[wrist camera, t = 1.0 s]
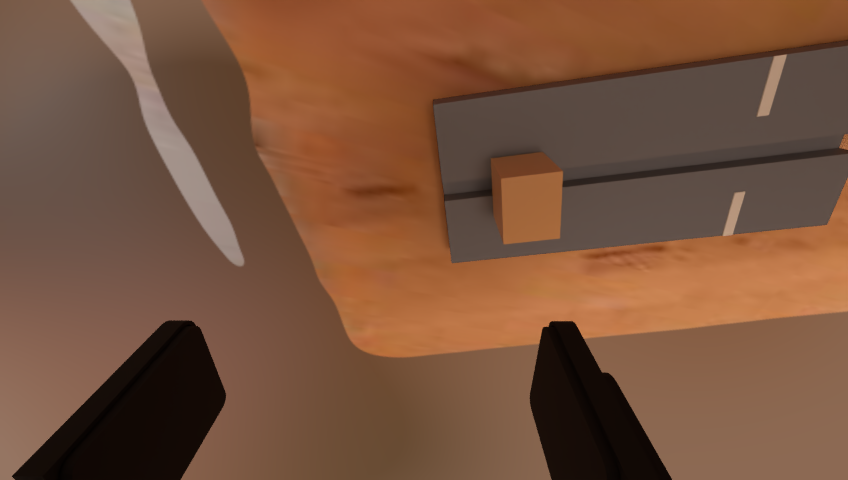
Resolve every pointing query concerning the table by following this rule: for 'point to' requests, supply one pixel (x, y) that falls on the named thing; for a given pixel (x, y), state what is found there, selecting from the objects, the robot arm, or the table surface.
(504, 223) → the slider tab
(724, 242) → the table surface
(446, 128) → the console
